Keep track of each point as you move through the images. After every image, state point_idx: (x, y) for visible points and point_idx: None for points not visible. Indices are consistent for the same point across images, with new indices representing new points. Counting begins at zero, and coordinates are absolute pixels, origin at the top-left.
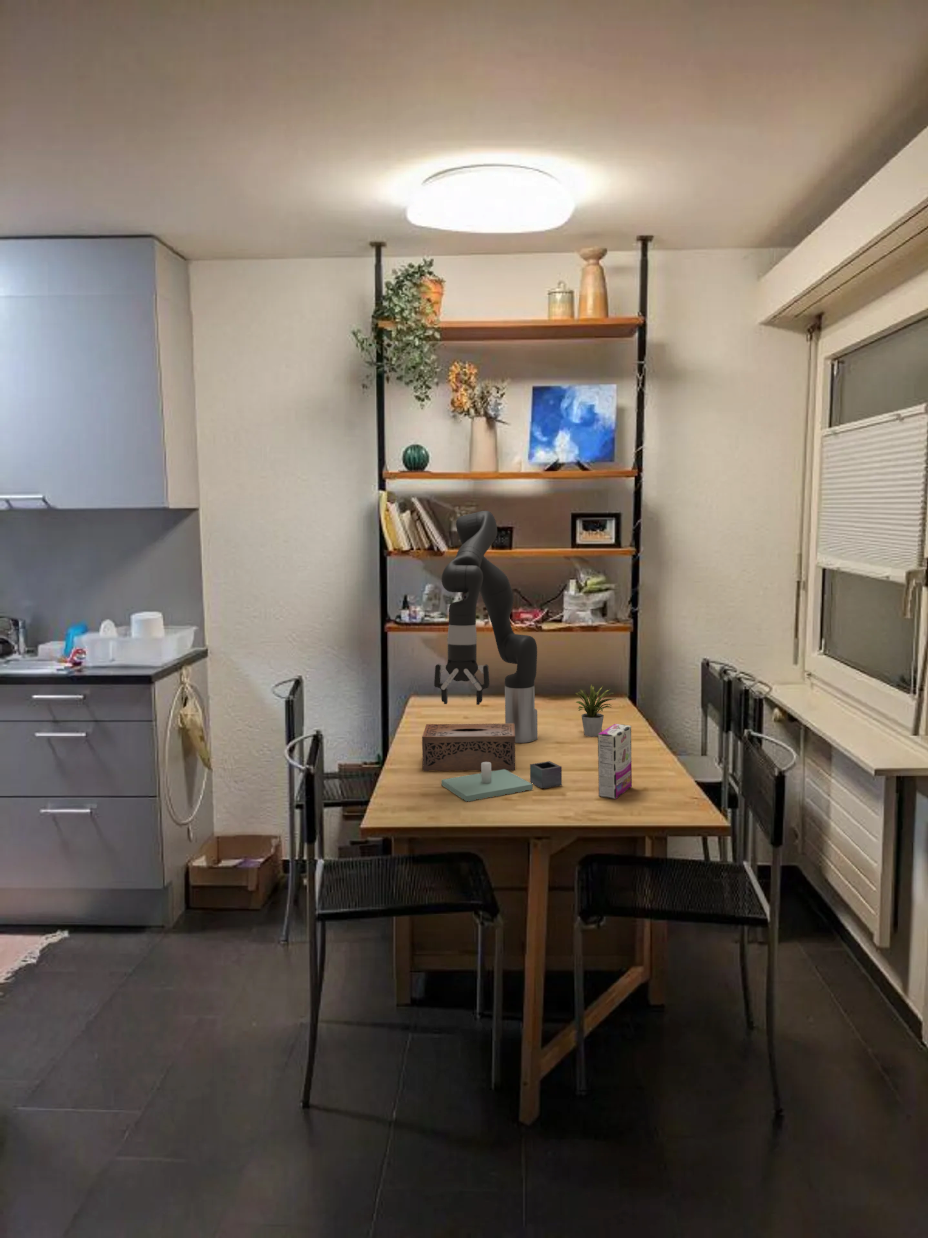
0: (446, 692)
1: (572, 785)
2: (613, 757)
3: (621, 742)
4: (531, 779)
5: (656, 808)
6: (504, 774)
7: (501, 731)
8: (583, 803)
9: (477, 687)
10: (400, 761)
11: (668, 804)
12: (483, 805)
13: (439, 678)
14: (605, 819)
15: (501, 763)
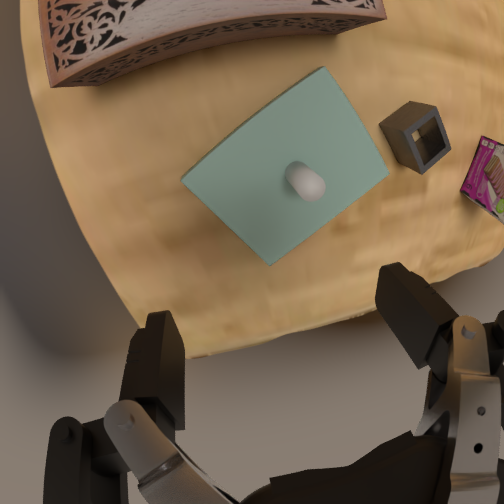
0: (183, 414)
1: None
2: None
3: None
4: (385, 129)
5: (489, 223)
6: (330, 109)
7: None
8: (439, 222)
9: (435, 387)
10: (31, 49)
11: None
12: (301, 266)
13: (83, 490)
14: (443, 269)
15: (310, 31)
